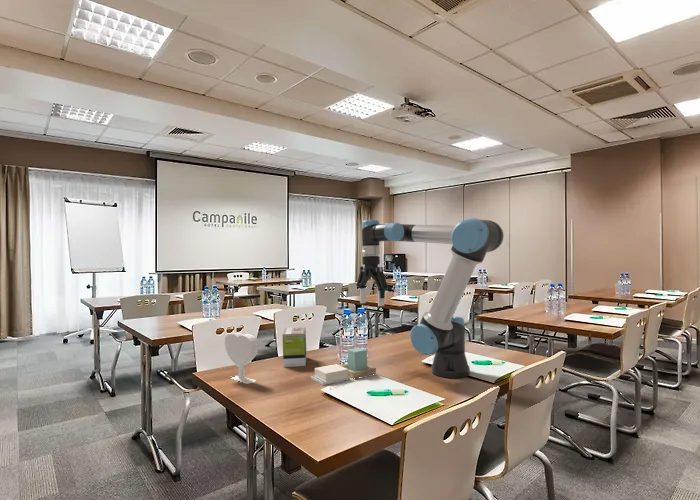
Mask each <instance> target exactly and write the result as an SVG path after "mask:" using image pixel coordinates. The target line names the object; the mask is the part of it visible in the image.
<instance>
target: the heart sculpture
mask: <svg viewBox="0 0 700 500" xmlns="http://www.w3.org/2000/svg"><path fill="white" fill-rule="evenodd" d="M258 347H259V339H257V337H256V336H255V335H252V334H250V333H245V334H244V333H242V332H235V333H230V334H227V335H226V336H225V337H224V348H225V351H226V354H227V356H228V358H229V359H230V360H231V362H232V363H233V364H234V365H235V366H236V367H237V368H238V370H237V371H238V372H237V373H238V375H234V376H235V377H232V376H231V377H232V378H231V379H234V380H238V381H240V382H239V383H242V382H243V383H242V384H247V385H248V384H253V383H255V382H256V381H257V379H253V378H249V377H246V376H245V375H246V373H245V367H246V365H248V364H249V363H250V362H252V360H254V358H255V357H256V355H257V353H258ZM238 381H237V382H238Z"/></svg>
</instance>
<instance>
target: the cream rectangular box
mask: <svg viewBox="0 0 700 500" xmlns="http://www.w3.org/2000/svg"><path fill="white" fill-rule="evenodd" d="M310 379H311V380H312V381H314V382H316V383H318V384H320V385H321V386H327V385H331V384H336V383H340V381H341V382H345V381H344V380H346V381H349V380H348V379H350V380H351V378H350V377H349V376H348V369H347V368H344V367H342V365H340V364H337V363H335V364H330V365H329V364H328V365H325V366H319V367H314V374H313V375H310Z"/></svg>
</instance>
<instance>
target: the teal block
mask: <svg viewBox="0 0 700 500" xmlns="http://www.w3.org/2000/svg"><path fill="white" fill-rule="evenodd" d="M347 364H348V369H349V370H351V371H353V372H357V371H362V370H367V365H368V350H367V349H365V348H362V347H355V348H350V349H347Z"/></svg>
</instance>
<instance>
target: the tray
mask: <svg viewBox="0 0 700 500" xmlns="http://www.w3.org/2000/svg"><path fill="white" fill-rule="evenodd" d="M341 366H342V367H344V368H347V369H348V363H347V364H343V365H341ZM373 374H374V375H373ZM369 375H373V376H376V375H377V368H376V367H374V366H371V365H369V364H367V370H362V371H357V372H353V371H351V370H349V369H348V376H349V377H350V379H352V378H353V379H352V380H355V379H354V378H359V377H363V378H366V377H365V376H368V377H370V376H369ZM359 379H360V378H359Z"/></svg>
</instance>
